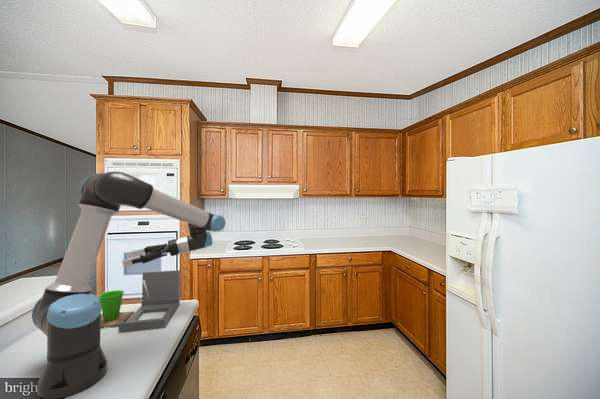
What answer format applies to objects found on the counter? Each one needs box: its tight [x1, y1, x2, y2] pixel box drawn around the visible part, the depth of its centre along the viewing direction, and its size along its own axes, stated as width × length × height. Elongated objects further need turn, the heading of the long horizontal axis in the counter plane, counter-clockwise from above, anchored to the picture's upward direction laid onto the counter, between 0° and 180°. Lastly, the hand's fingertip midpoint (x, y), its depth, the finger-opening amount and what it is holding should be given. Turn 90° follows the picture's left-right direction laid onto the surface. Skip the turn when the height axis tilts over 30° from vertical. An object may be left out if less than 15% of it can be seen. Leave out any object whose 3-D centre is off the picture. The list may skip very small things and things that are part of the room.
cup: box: [98, 289, 125, 321], centre depth 110 cm, size 9×9×11 cm
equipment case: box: [118, 269, 181, 333], centre depth 114 cm, size 17×25×18 cm
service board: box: [101, 311, 135, 329], centre depth 110 cm, size 13×13×1 cm
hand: (125, 259), depth 110 cm, fingers open, 13 cm apart
